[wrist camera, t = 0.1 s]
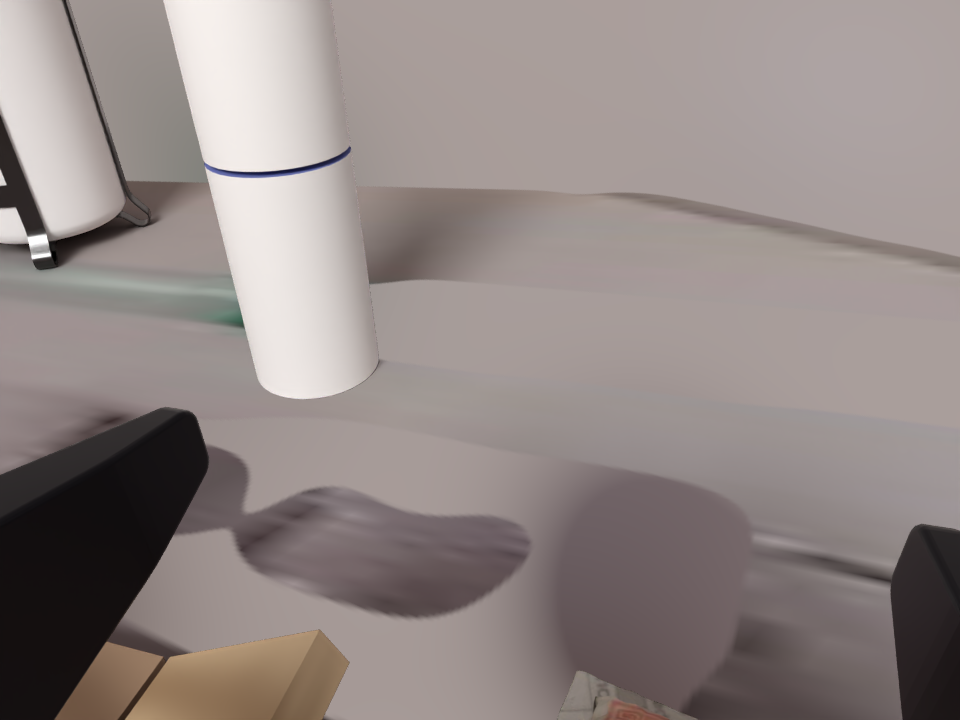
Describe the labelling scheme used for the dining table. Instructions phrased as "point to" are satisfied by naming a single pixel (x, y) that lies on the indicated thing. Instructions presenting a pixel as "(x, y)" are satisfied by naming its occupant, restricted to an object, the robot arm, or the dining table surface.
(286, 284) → the cylindrical container
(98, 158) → the coffee press
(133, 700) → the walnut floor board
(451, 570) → the dining table surface
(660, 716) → the packaged product
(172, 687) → the oak plank
